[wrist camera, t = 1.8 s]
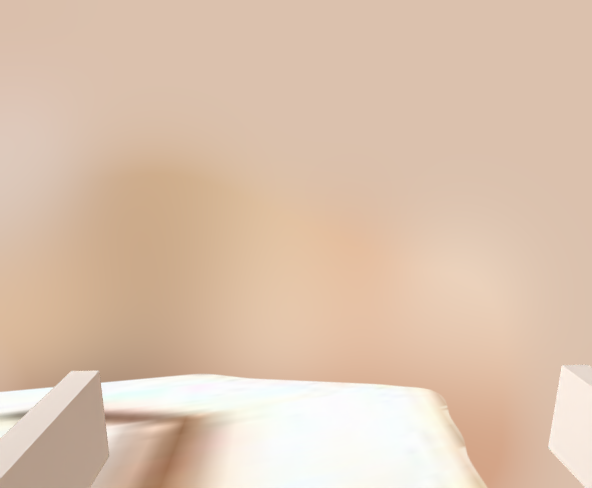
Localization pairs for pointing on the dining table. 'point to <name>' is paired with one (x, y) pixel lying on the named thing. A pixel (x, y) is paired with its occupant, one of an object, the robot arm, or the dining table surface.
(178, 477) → the dining table surface
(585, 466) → the robot arm
